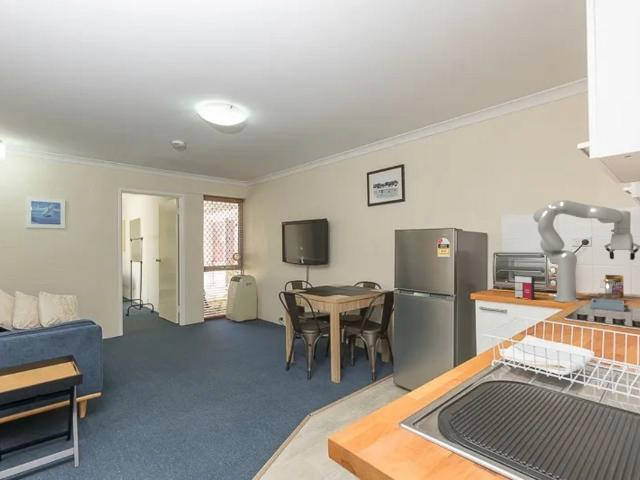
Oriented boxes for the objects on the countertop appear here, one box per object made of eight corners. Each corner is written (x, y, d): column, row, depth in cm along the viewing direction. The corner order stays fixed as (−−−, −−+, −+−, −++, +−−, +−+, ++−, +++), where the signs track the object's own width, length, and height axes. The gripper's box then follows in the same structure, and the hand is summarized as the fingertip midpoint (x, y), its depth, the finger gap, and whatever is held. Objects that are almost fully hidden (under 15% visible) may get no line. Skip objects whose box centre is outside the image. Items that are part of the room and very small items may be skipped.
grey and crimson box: (514, 298, 229) (513, 275, 229) (517, 297, 231) (516, 275, 232) (532, 300, 220) (531, 276, 220) (535, 299, 223) (534, 276, 223)
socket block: (597, 303, 207) (597, 294, 207) (598, 301, 215) (598, 293, 215) (619, 305, 200) (619, 296, 201) (619, 302, 208) (619, 294, 208)
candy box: (605, 298, 225) (605, 275, 225) (605, 297, 228) (604, 274, 229) (623, 299, 220) (623, 275, 220) (622, 298, 223) (622, 275, 224)
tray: (590, 308, 191) (590, 302, 191) (592, 304, 204) (592, 298, 204) (623, 311, 181) (623, 305, 181) (624, 306, 195) (624, 300, 195)
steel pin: (603, 301, 207) (603, 279, 208) (604, 300, 211) (603, 279, 211) (613, 302, 204) (613, 280, 204) (613, 301, 208) (613, 279, 208)
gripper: (602, 231, 216) (601, 258, 216) (638, 230, 201) (637, 260, 201) (607, 231, 220) (607, 258, 220) (643, 231, 205) (642, 260, 205)
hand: (621, 259), depth 211 cm, fingers open, 9 cm apart
